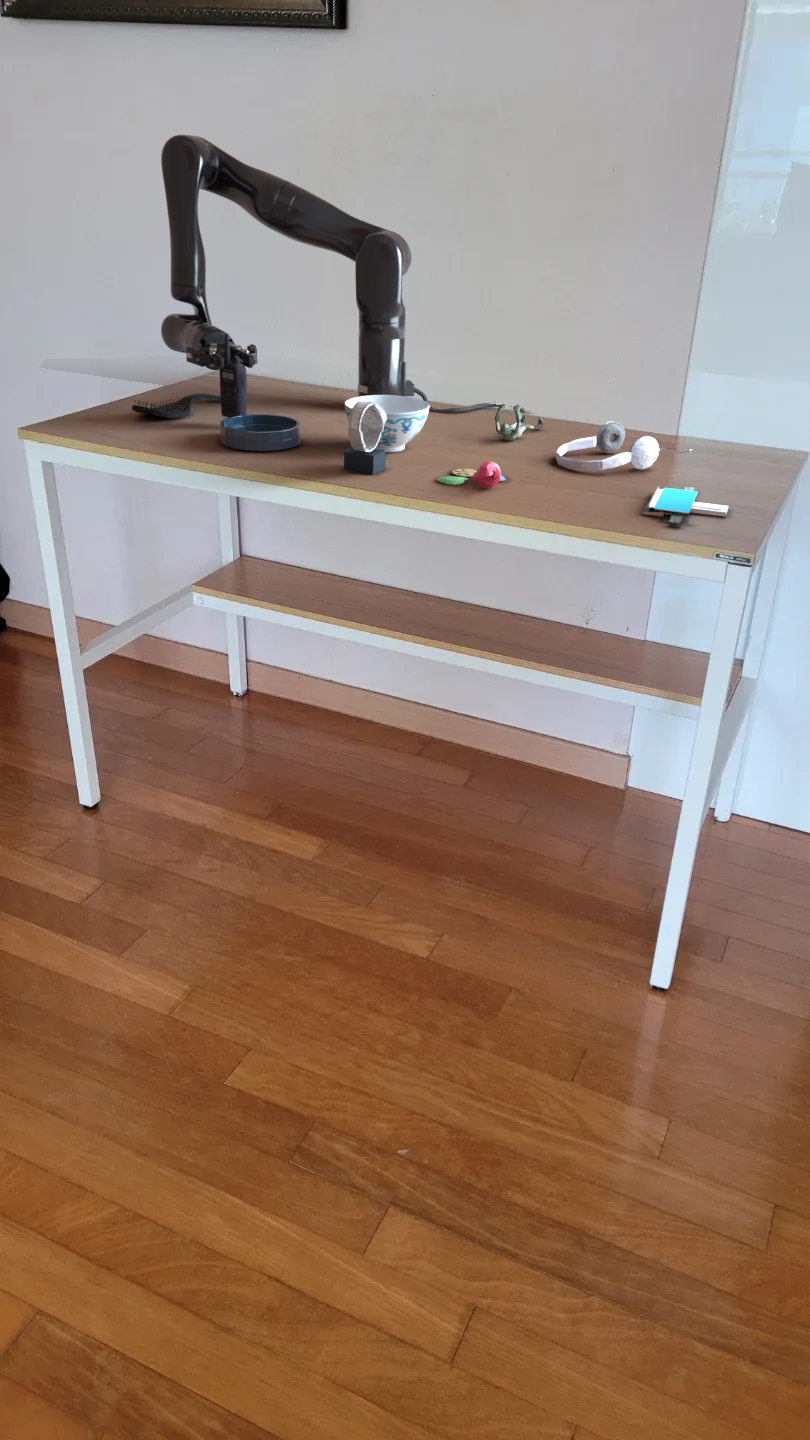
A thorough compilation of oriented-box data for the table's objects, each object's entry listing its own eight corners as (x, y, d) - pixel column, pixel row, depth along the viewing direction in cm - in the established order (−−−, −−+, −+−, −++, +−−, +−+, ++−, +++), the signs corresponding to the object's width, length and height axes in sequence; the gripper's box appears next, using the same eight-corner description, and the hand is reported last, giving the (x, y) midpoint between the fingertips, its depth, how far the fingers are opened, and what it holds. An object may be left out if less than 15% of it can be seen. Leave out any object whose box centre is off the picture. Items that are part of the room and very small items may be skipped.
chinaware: (373, 433, 201) (373, 391, 198) (442, 445, 195) (444, 402, 191) (327, 449, 190) (327, 405, 186) (400, 463, 183) (401, 417, 180)
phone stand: (720, 533, 155) (722, 522, 154) (637, 522, 158) (639, 511, 157) (731, 496, 171) (733, 486, 171) (656, 487, 175) (658, 477, 174)
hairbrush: (237, 388, 219) (154, 403, 200) (237, 407, 221) (155, 423, 201) (205, 384, 223) (120, 398, 203) (205, 402, 225) (122, 417, 205)
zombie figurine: (546, 394, 204) (515, 410, 193) (543, 430, 208) (511, 447, 196) (521, 390, 206) (488, 405, 195) (517, 426, 210) (485, 442, 198)
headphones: (639, 441, 197) (542, 466, 192) (639, 410, 194) (540, 435, 189) (694, 466, 182) (590, 493, 178) (694, 433, 179) (589, 460, 175)
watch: (390, 466, 181) (391, 399, 176) (368, 477, 175) (369, 408, 170) (361, 461, 183) (361, 395, 178) (338, 472, 177) (338, 404, 172)
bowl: (296, 432, 200) (296, 413, 199) (304, 452, 188) (304, 432, 186) (220, 433, 198) (219, 414, 196) (222, 453, 185) (221, 433, 184)
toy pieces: (524, 482, 175) (526, 455, 173) (478, 495, 168) (480, 467, 166) (470, 467, 182) (472, 441, 180) (424, 478, 175) (425, 451, 173)
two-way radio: (217, 416, 202) (214, 332, 194) (232, 412, 205) (231, 330, 198) (239, 421, 199) (237, 336, 192) (255, 417, 202) (254, 334, 195)
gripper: (172, 327, 204) (197, 343, 191) (244, 324, 210) (273, 339, 197) (175, 367, 208) (199, 386, 195) (246, 364, 214) (274, 381, 200)
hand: (236, 362), depth 196 cm, fingers closed on two-way radio, 5 cm apart
